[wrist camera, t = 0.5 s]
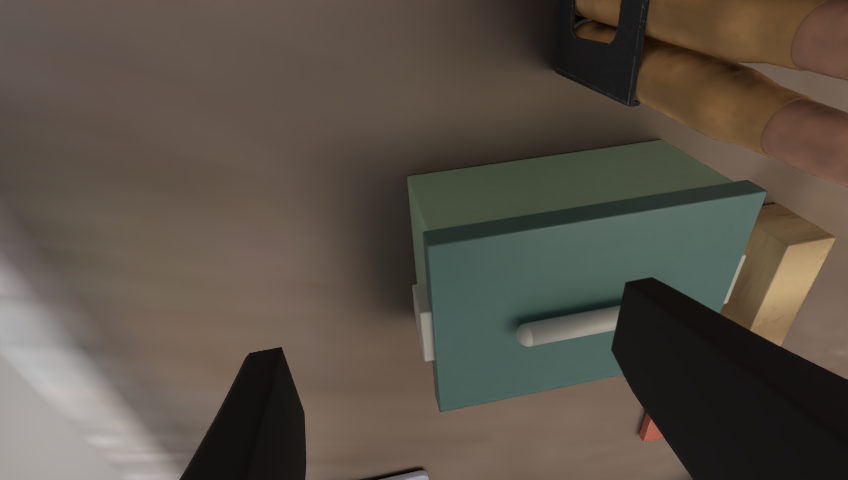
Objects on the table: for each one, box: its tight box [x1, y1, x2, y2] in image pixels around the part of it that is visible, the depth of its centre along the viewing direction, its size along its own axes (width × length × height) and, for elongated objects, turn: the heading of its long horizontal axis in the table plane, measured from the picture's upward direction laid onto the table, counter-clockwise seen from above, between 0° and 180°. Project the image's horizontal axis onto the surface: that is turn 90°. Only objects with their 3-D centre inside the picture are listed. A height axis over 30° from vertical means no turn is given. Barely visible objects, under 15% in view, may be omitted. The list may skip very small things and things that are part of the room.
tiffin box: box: [407, 140, 767, 412], centre depth 19 cm, size 8×12×6 cm, turn 94°
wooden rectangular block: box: [639, 203, 836, 442], centre depth 27 cm, size 18×5×3 cm, turn 4°
